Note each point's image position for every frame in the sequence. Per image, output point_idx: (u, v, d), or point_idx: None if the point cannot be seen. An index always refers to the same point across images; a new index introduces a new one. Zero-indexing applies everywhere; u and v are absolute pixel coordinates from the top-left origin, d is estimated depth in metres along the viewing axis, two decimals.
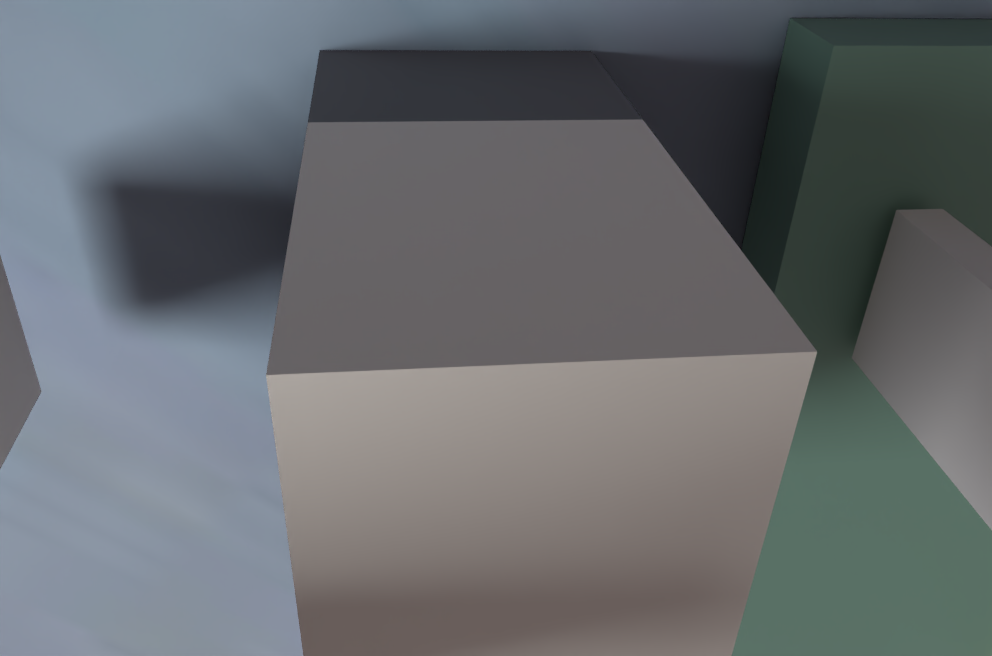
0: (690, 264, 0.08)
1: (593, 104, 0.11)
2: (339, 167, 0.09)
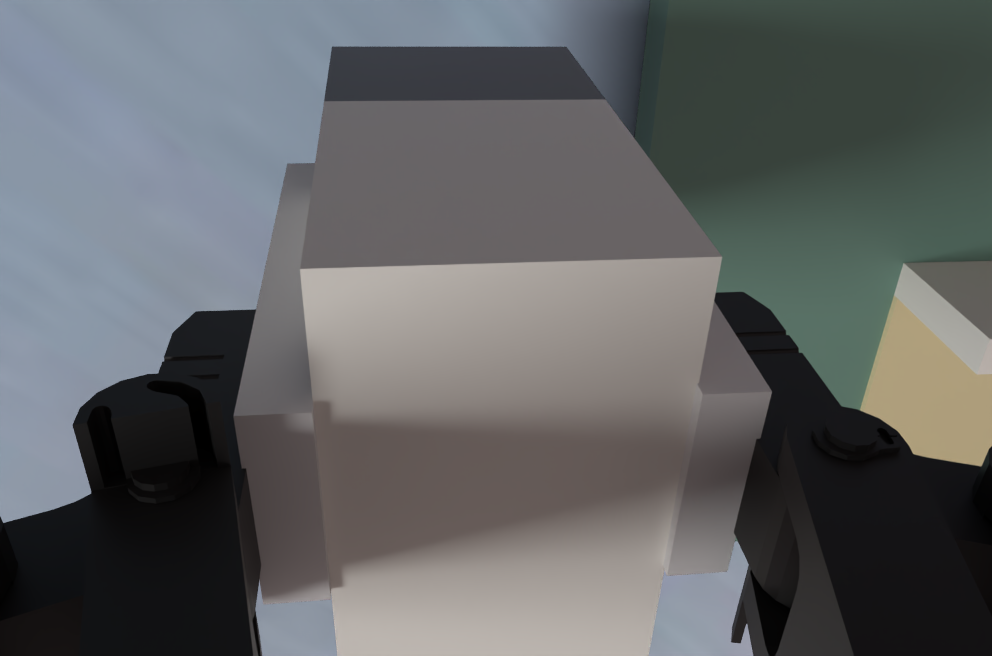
0: (631, 200, 0.10)
1: (564, 88, 0.13)
2: (351, 133, 0.11)
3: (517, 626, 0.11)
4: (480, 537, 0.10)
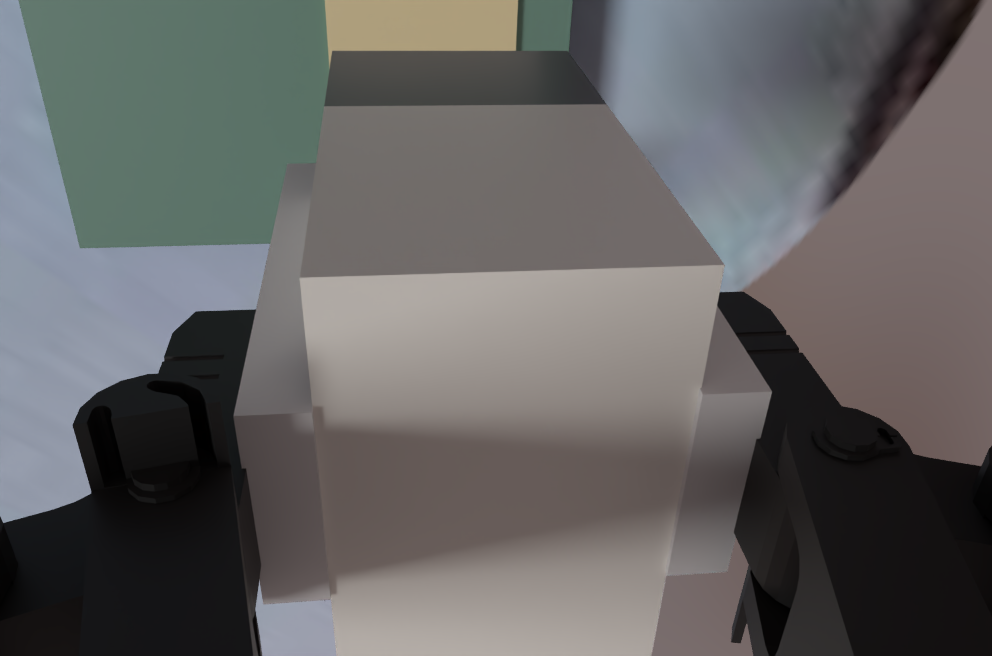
0: (632, 207, 0.10)
1: (565, 92, 0.13)
2: (351, 139, 0.11)
3: (518, 634, 0.11)
4: (481, 545, 0.10)
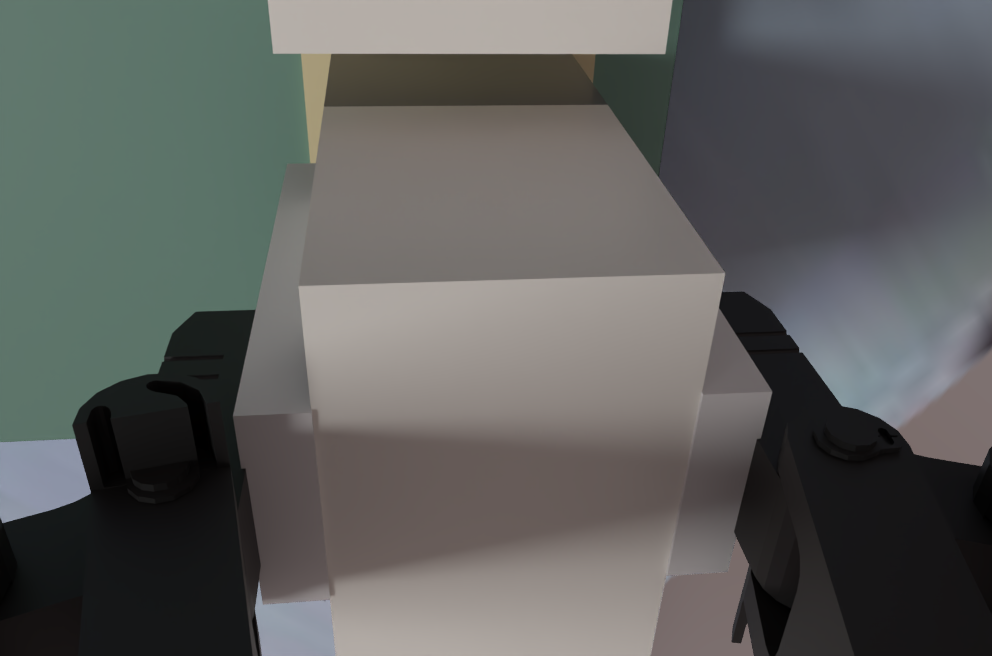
0: (634, 213, 0.09)
1: (566, 92, 0.13)
2: (351, 141, 0.11)
3: (516, 637, 0.11)
4: (480, 549, 0.10)
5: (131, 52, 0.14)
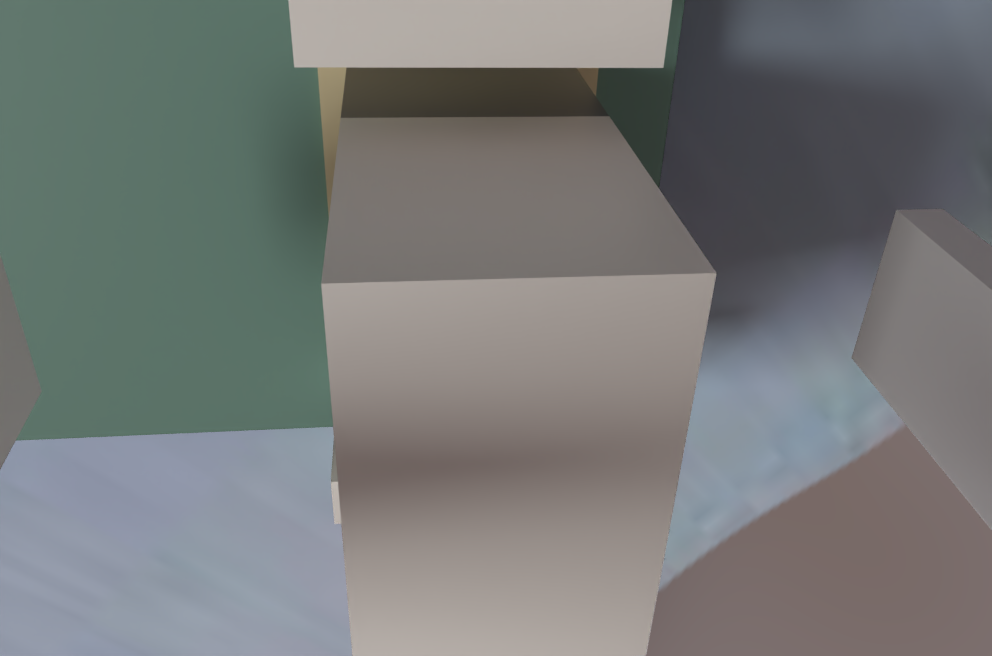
0: (633, 217, 0.10)
1: (571, 104, 0.14)
2: (367, 150, 0.12)
3: (521, 619, 0.11)
4: (487, 534, 0.11)
5: (156, 66, 0.15)
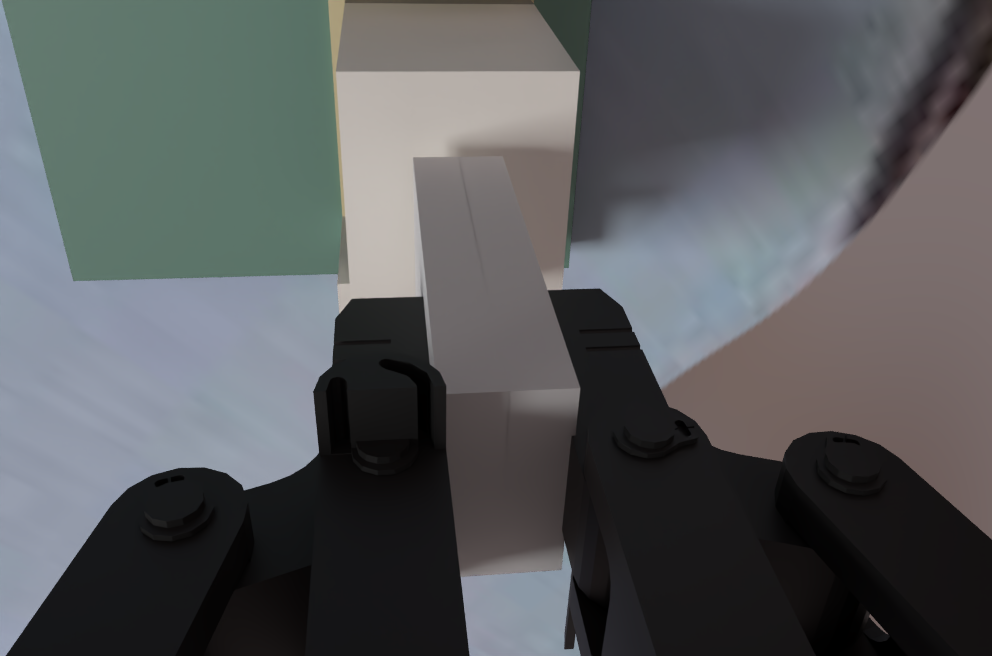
0: (535, 48, 0.16)
1: None
2: (363, 18, 0.17)
3: None
4: None
5: None
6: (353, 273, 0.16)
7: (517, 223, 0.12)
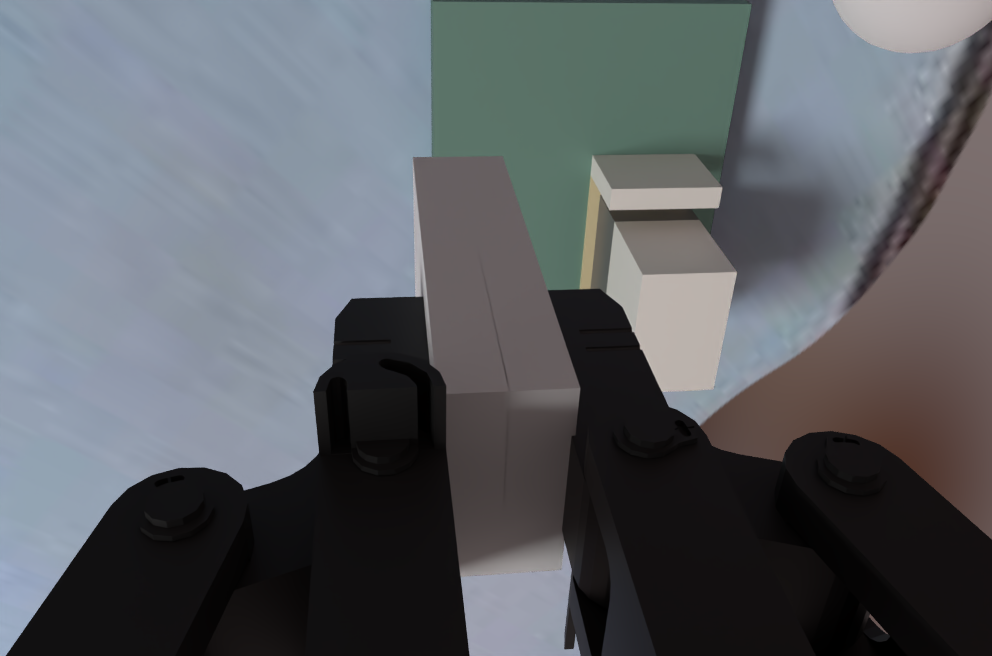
0: (713, 256, 0.37)
1: (685, 214, 0.41)
2: (630, 234, 0.39)
3: (677, 374, 0.39)
4: (671, 345, 0.38)
5: (532, 196, 0.42)
6: None
7: (517, 223, 0.12)
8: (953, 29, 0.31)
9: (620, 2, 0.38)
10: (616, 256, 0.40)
